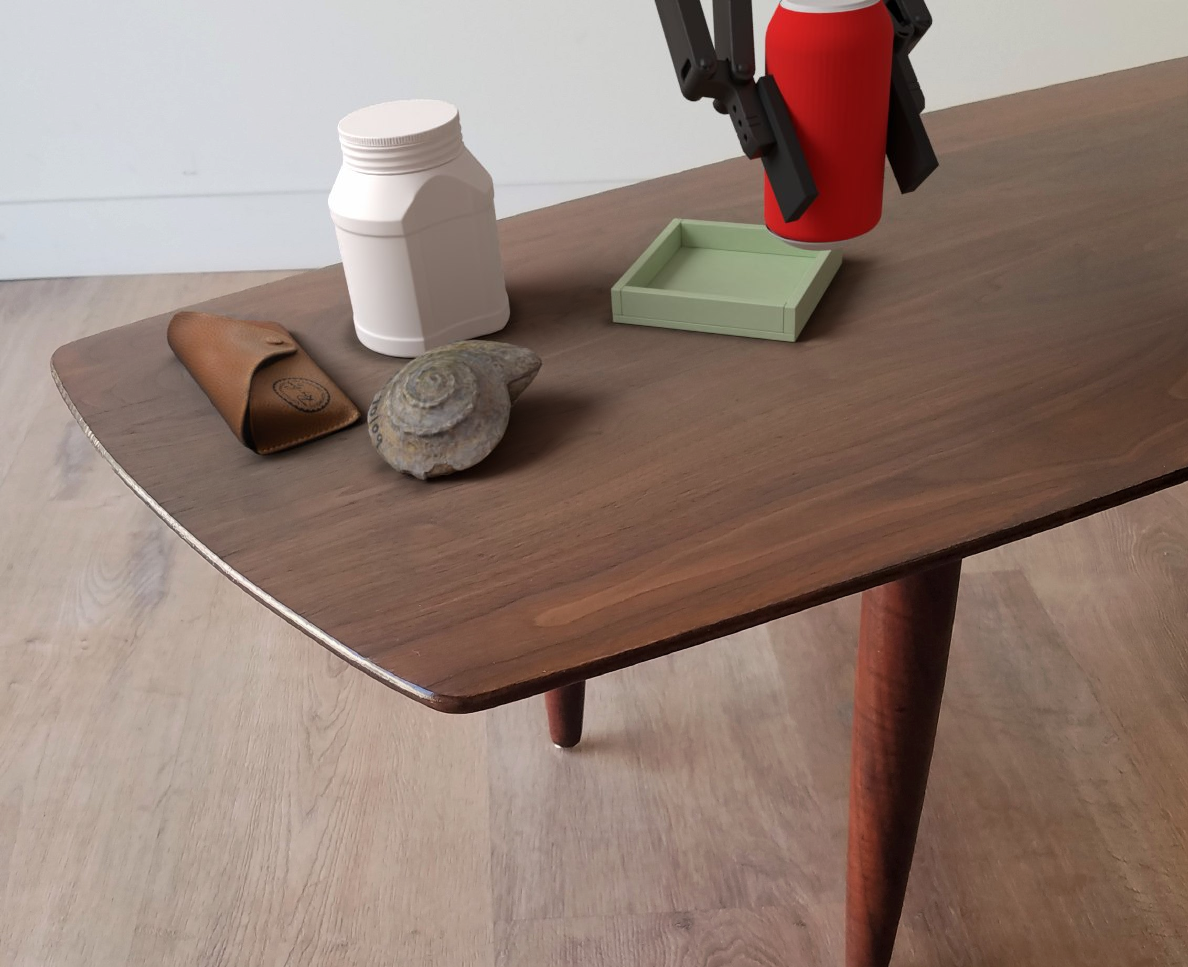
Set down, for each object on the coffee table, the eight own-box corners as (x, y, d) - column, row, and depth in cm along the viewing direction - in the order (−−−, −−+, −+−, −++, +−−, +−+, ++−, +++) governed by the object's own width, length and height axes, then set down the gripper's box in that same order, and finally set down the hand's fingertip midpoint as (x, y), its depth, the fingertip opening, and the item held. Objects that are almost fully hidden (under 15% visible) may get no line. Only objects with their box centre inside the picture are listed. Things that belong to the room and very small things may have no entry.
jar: (467, 280, 97) (437, 84, 88) (532, 319, 91) (507, 111, 82) (336, 326, 92) (290, 123, 83) (395, 370, 86) (352, 155, 77)
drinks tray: (842, 263, 94) (843, 230, 93) (794, 342, 85) (795, 307, 83) (675, 249, 99) (674, 217, 97) (612, 322, 89) (610, 289, 88)
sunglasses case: (371, 412, 80) (302, 349, 76) (297, 490, 80) (223, 431, 76) (278, 320, 93) (214, 261, 88) (214, 387, 93) (147, 331, 88)
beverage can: (748, 225, 68) (747, -9, 61) (853, 207, 69) (864, -26, 62) (787, 266, 63) (792, 18, 56) (899, 246, 64) (918, -1, 57)
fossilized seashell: (339, 407, 79) (361, 310, 75) (478, 404, 85) (506, 314, 81) (411, 505, 73) (440, 405, 69) (555, 494, 79) (589, 401, 75)
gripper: (836, -179, 70) (982, 190, 68) (522, -130, 65) (669, 269, 63) (896, -293, 63) (1061, 116, 60) (548, -248, 58) (715, 199, 55)
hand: (861, 193), depth 62 cm, fingers closed on beverage can, 6 cm apart
